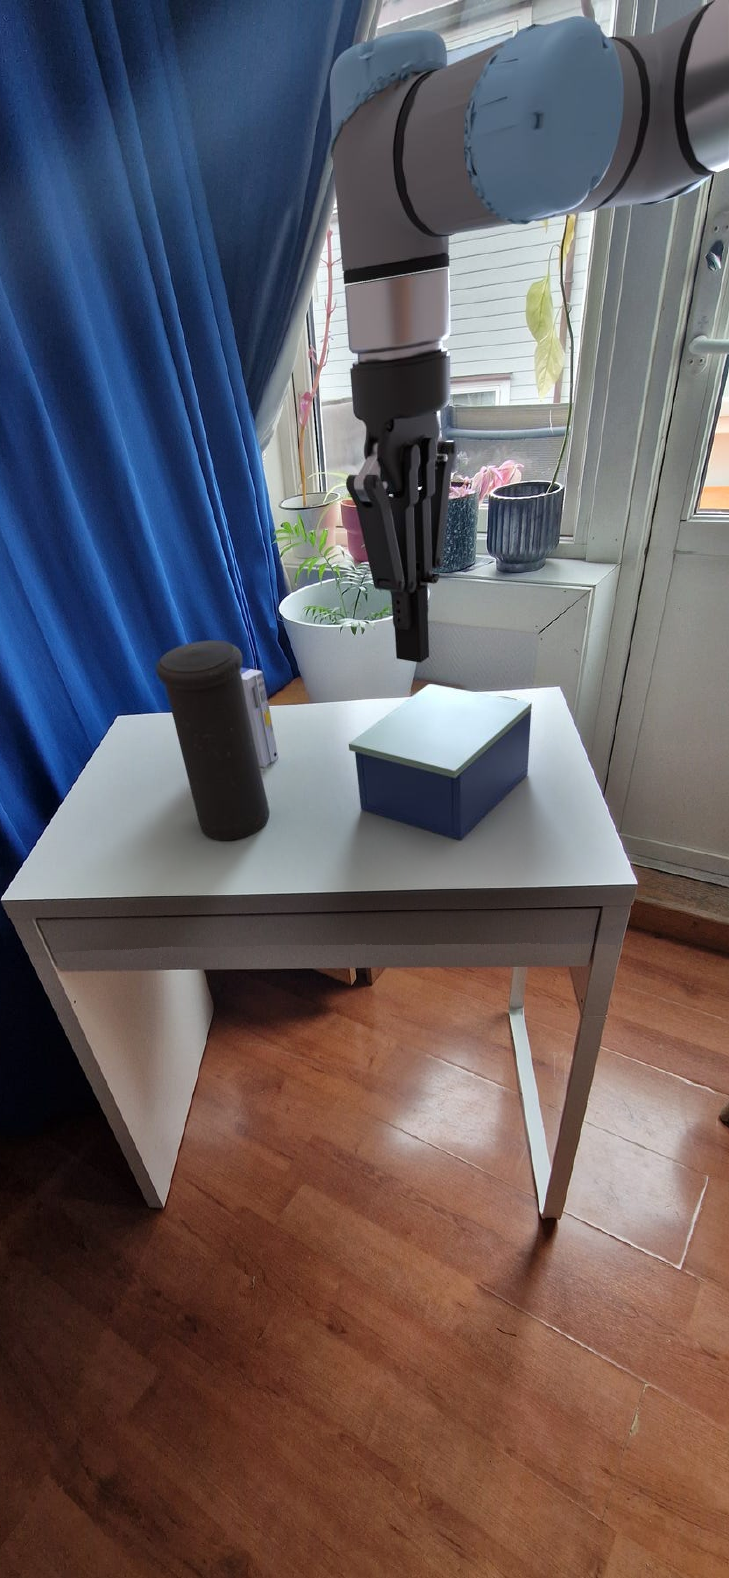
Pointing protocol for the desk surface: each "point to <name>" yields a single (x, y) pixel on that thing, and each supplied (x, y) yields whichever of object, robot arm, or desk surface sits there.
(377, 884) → the desk surface
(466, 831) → the case
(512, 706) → the case lid
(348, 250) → the robot arm
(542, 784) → the desk surface
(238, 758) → the container
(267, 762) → the walkman
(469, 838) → the desk surface
